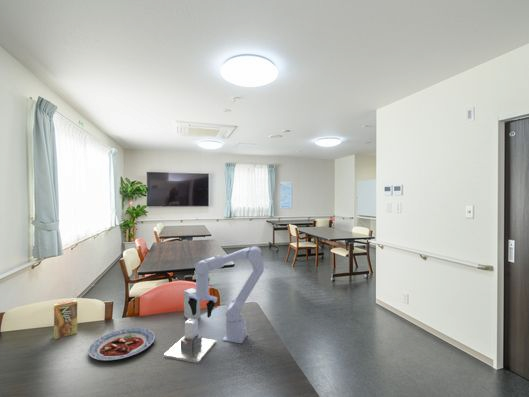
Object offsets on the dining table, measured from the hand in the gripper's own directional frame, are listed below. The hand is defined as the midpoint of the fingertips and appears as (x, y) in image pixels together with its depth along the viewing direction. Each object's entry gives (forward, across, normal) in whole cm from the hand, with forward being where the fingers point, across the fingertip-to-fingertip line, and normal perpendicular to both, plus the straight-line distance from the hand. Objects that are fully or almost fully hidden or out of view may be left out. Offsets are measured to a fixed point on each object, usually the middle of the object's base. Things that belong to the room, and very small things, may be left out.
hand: (201, 315), depth 126 cm
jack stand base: (+10, 0, -10) cm, 14 cm away
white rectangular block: (+6, 0, -10) cm, 12 cm away
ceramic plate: (+11, -30, -16) cm, 35 cm away
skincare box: (+11, -16, +18) cm, 26 cm away
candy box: (+12, -64, -15) cm, 66 cm away
